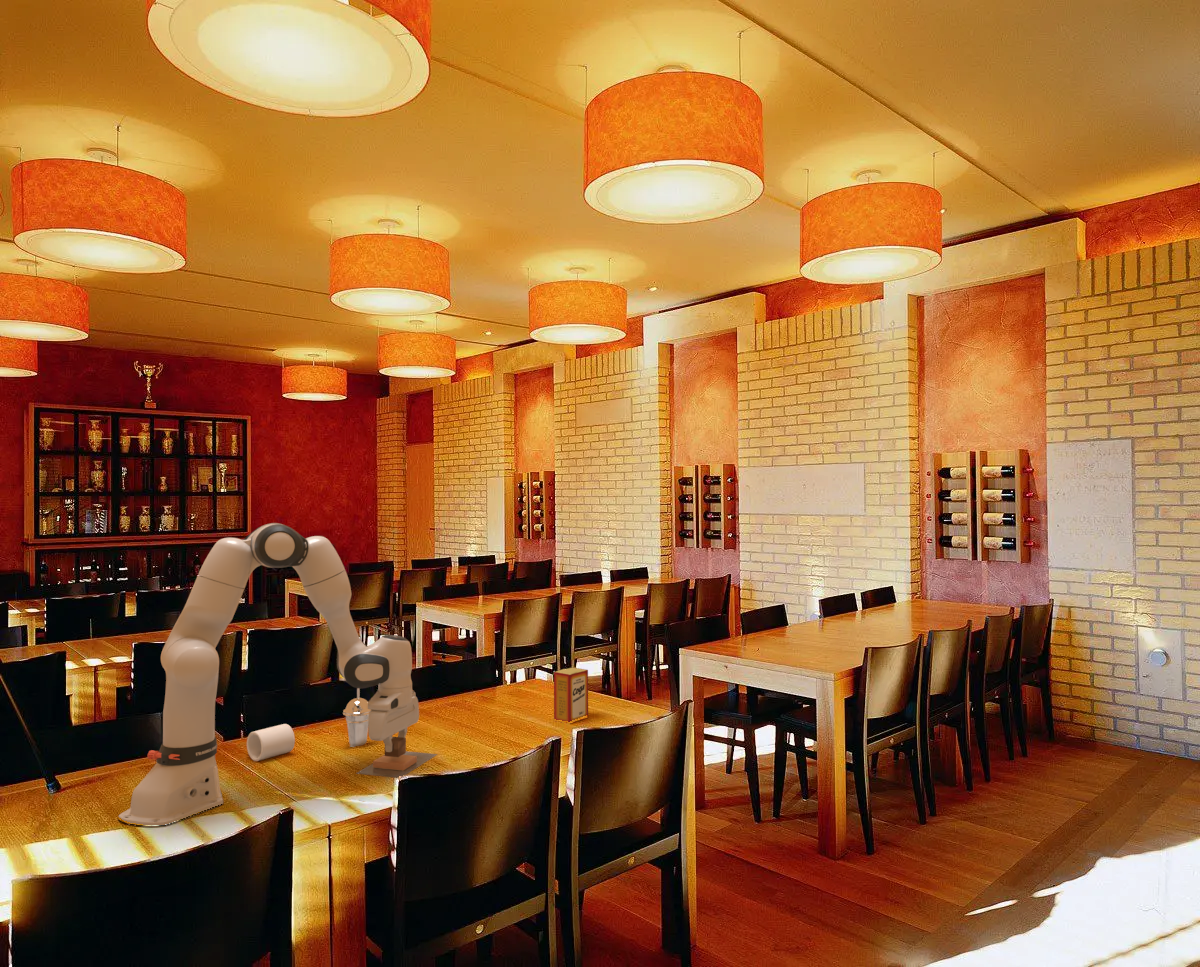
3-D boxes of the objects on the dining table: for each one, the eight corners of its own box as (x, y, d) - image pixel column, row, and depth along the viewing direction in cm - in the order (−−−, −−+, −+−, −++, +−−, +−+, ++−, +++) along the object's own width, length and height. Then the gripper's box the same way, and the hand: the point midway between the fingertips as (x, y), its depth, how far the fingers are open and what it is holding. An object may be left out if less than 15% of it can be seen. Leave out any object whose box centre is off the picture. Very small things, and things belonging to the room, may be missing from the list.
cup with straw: (364, 751, 232) (364, 680, 232) (335, 749, 233) (335, 679, 234) (378, 742, 240) (378, 674, 240) (350, 740, 242) (350, 673, 242)
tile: (403, 764, 212) (416, 756, 219) (373, 761, 215) (387, 753, 221) (403, 770, 212) (416, 762, 219) (373, 767, 215) (387, 759, 221)
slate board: (400, 781, 207) (400, 777, 207) (355, 776, 211) (355, 773, 211) (437, 757, 226) (437, 754, 226) (396, 753, 230) (396, 750, 230)
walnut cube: (398, 757, 214) (398, 742, 215) (384, 756, 216) (384, 740, 216) (405, 752, 218) (405, 737, 218) (392, 751, 219) (392, 736, 219)
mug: (295, 754, 229) (295, 726, 230) (262, 763, 221) (262, 734, 222) (270, 747, 236) (270, 719, 237) (238, 755, 228) (238, 727, 229)
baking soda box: (572, 714, 270) (572, 666, 271) (588, 717, 266) (587, 668, 267) (554, 720, 263) (553, 671, 263) (569, 724, 259) (569, 673, 259)
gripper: (404, 686, 228) (404, 736, 228) (363, 704, 208) (363, 758, 208) (424, 688, 226) (424, 738, 226) (385, 706, 207) (385, 760, 206)
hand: (395, 748), depth 217 cm, fingers closed on walnut cube, 4 cm apart
